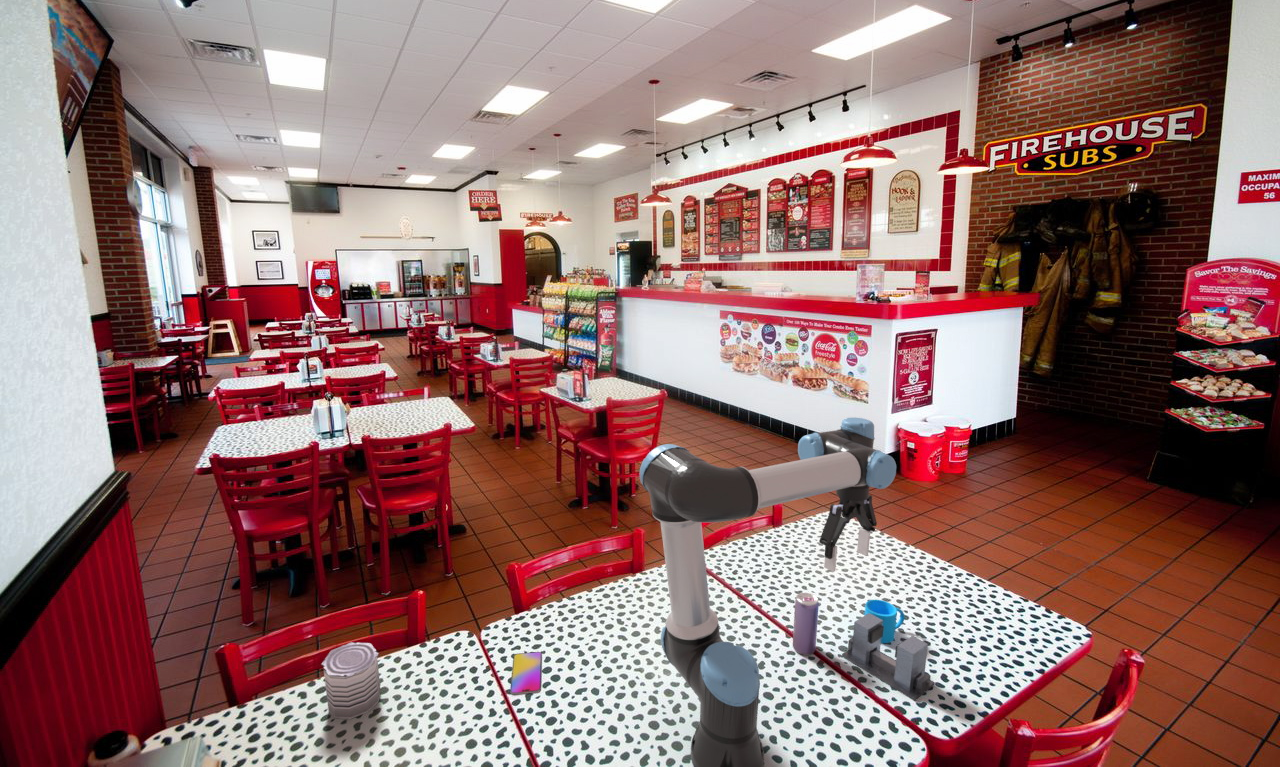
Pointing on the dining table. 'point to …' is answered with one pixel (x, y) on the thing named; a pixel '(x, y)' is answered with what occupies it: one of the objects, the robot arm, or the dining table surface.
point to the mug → (885, 617)
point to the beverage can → (805, 623)
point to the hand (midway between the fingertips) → (846, 561)
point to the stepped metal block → (910, 661)
